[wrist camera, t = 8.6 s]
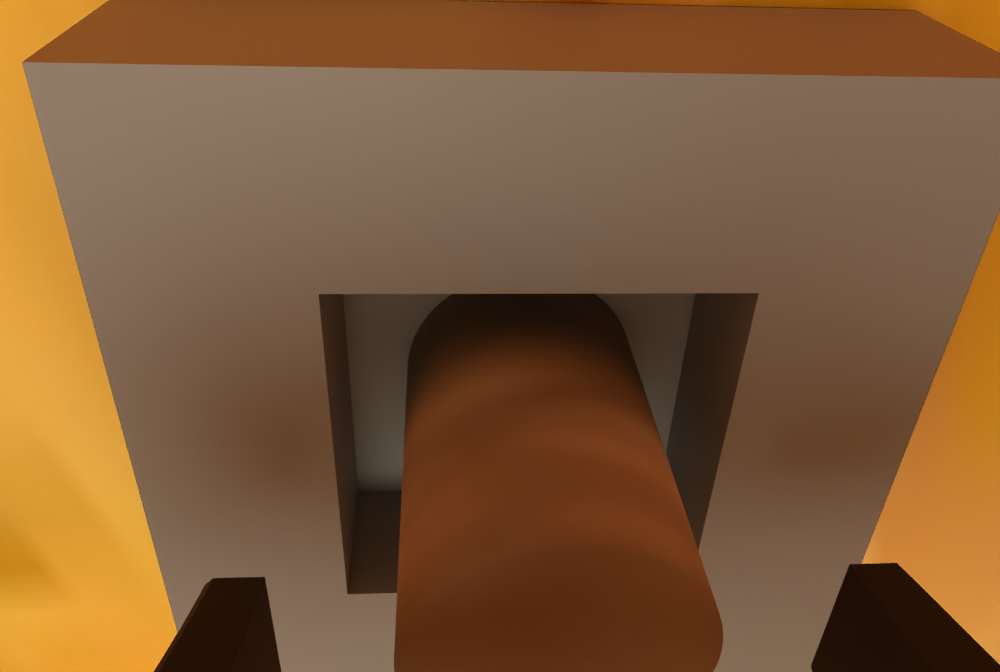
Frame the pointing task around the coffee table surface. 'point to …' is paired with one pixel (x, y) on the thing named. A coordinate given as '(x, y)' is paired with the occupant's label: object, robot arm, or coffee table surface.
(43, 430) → the coffee table surface
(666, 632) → the walnut peg
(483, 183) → the socket stand
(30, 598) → the coffee table surface
